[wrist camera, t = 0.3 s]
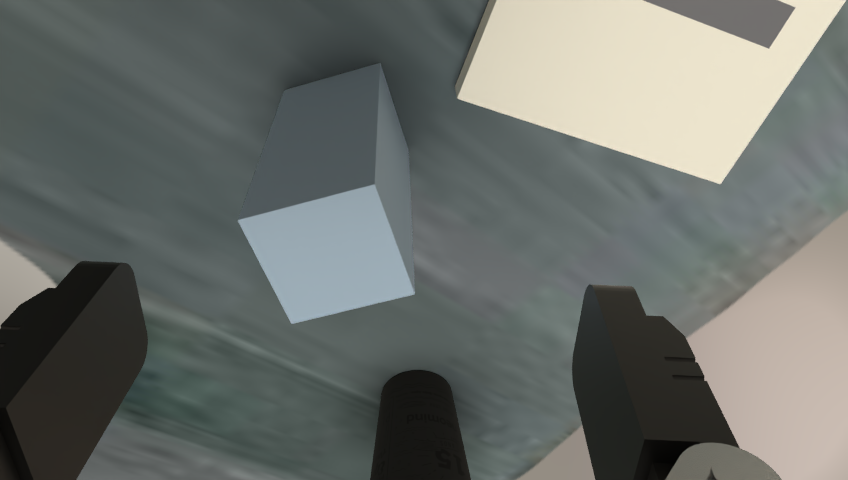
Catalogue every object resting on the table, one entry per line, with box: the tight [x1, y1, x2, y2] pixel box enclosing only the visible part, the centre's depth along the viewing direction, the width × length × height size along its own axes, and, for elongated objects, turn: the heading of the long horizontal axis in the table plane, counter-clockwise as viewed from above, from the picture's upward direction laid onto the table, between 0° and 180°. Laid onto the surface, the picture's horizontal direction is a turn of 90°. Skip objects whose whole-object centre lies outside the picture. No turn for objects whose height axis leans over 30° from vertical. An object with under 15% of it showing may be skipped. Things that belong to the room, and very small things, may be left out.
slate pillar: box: [238, 63, 415, 324], centre depth 29 cm, size 5×5×12 cm
